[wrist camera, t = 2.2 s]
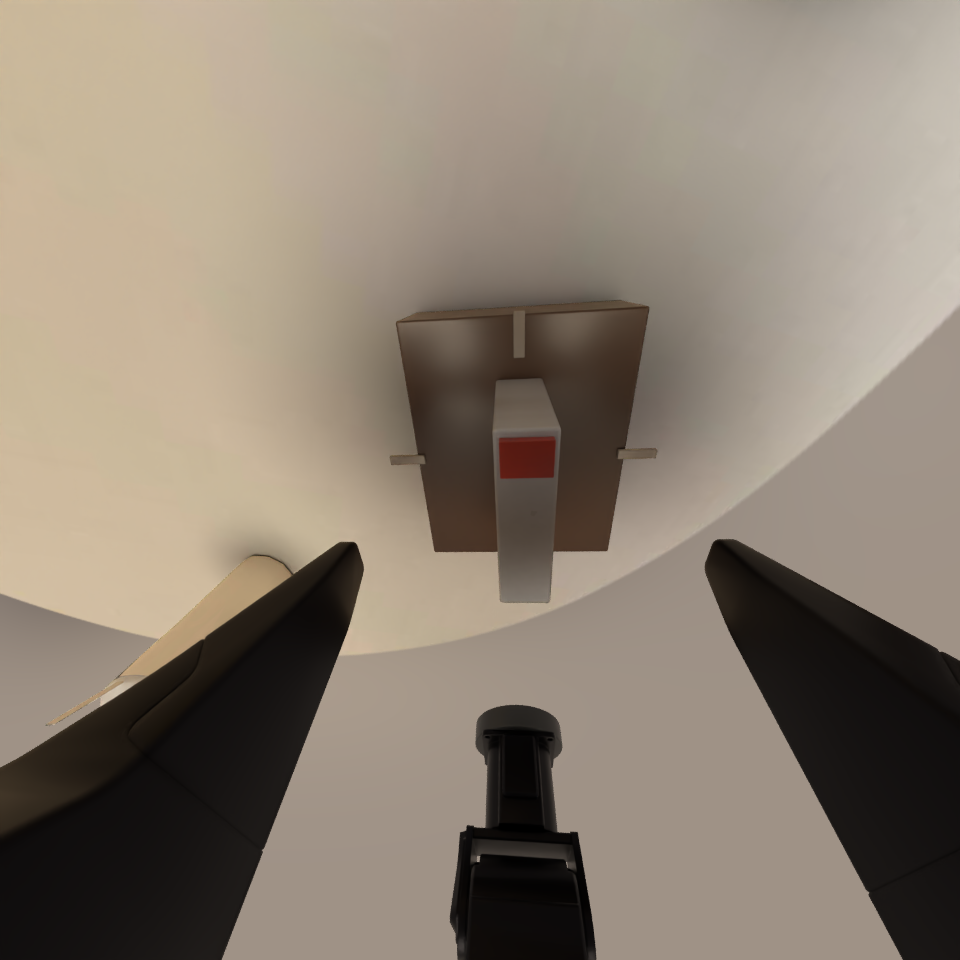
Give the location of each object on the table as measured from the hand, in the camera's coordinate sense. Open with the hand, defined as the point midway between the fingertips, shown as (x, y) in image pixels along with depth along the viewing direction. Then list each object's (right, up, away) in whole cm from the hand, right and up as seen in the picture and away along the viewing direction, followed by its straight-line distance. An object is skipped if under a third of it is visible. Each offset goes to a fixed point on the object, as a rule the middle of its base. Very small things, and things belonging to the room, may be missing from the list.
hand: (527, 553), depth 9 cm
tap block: (0, +4, +7) cm, 8 cm away
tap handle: (0, +3, +4) cm, 5 cm away
